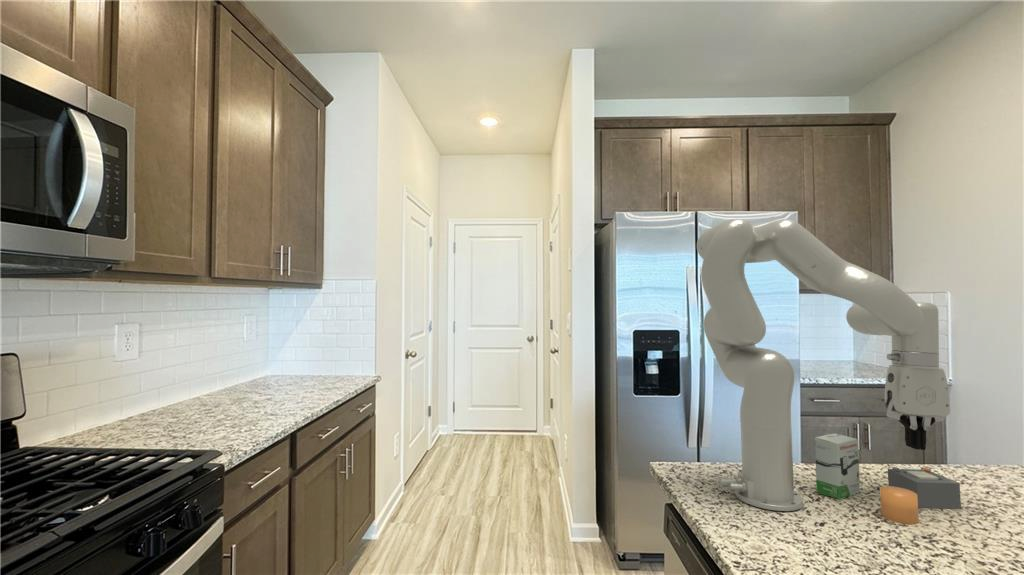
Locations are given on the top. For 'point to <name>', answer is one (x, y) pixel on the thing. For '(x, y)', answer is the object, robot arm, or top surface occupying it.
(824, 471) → the ink box
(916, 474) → the button
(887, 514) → the cap
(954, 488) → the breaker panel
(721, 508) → the top surface
